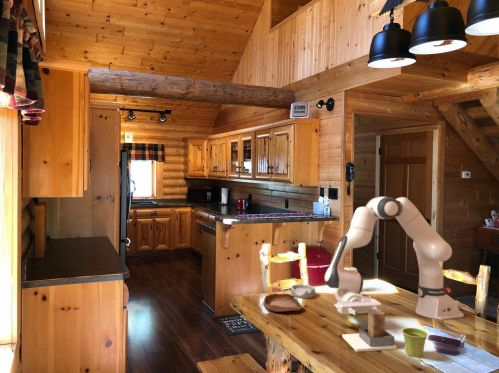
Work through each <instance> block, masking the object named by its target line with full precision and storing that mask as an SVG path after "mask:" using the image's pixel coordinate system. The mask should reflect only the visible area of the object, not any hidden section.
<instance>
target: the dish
mask: <svg viewBox="0 0 499 373" xmlns="http://www.w3.org/2000/svg"><path fill="white" fill-rule="evenodd" d="M290 293H291V294H290V295H292V296H294V297H295V298H300V299H310V298H313V297H315V294H316V288H315V287H314V286H312V285H309V284H305V285H304V284H293V285H291V287H290Z"/></svg>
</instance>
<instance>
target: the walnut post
mask: <svg viewBox="0 0 499 373" xmlns="http://www.w3.org/2000/svg"><path fill="white" fill-rule="evenodd" d="M367 314H368V315H367V328H368V334H369V335H370V336H371V337H378V336H385V330H386V313H384V311H380V310H370V311H368V313H367Z"/></svg>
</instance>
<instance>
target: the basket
mask: <svg viewBox="0 0 499 373" xmlns="http://www.w3.org/2000/svg"><path fill="white" fill-rule="evenodd" d="M263 307H265V309H266V310H269V311H270V312H277V313H278V312H291V311H295V312H298V311H301V310H302V309H303V308H304V304H303V305H302V304H301V303H300V302H299V301H298V300H297V298H296V297H294V296H293V295H292V294H290V293H272V294H268V295H266V296H265V297H264V299H263Z"/></svg>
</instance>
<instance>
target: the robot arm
mask: <svg viewBox="0 0 499 373" xmlns="http://www.w3.org/2000/svg"><path fill="white" fill-rule="evenodd" d="M394 218H395V219H396V220H397V222H398V223H399V224H400V226H401V227H402V228H403V230H404V232H405V233H406V234H407V236H408V237H409V238H410V239H412V241H413V244H412V246H413V249H414V251H415V254H416V259H417V264H418V271H419V272H418V274H419V275H418V278H419V281H418V286H417V288H418V289H417V295H418V296H417V297H418V298H417V304H416V307H415V312H414V313H416V314H418V315H419V316H422V317H426V318H430V319H436V320H440V321H444V320H451V319H457V318H464V313H463V312H462V311H460V310H459V305H458V303H457V301H456V300H455V299H453V298H452V297H451V296H449V295H448V294H447V293H451V292H452V290H451V288H449V287H445V286H444V270H443V268H442V266H441V262H446V261H448V260H449V259H450V258H451V256H452V253H453V252H452V251H453V250H452V247H451V245H450V244H449V243H448V242H447V241H445V239H444V238H443V237H442V236H441V235H440V234H439V233H438V232H437V231H436V230H435V229H434V228H433V227H432V226H431V225H430V224H429V222H428V221H427V220H426V219H425V218H424V216H423V215H422V214H421V212H420V211H419V209H418V208H417V207H416V206H415V204H413V202H412V201H411V200H410V199H408V197H406V196H405V197H404V196H401V197H397V198H396V199H395V198H393V197H391V196H376V197H373V198H372V197H371V198H370V199H369V200H368V201H367V202H366V204H365V205H364V206H358V207H357V208H356V210H355V211H354V213H353V216H352V218H351V222H350V227H349V230H348V231H347V233H346V234H345V235H342V237H341V238H340V240H339V242H338V243H337V246H336V248H335V251H334V254H333V256H332V259H331V261H330V264H329V266H328V268H327V269H326V271H325V274H324V282H325V284H326V285H327V287H329V288H330V289H335V290H334V297H335V299H336V301H337V302H336V303H334V304H333V307H335V308H336V310H337V312H338V313H340V314H342V315H347V314H351V315H354V316H358V315H359V314H366V313H367V314H368V311H370V310H380V311H381V312H383V311H382V310H383V305H382V303H381V302H380V301H378V300H377V299H375V298H372V296H371V295H367V294H361V292H362V290H363V287H364V279H363V276H362V274H361V273H360V272H359V271H357V272H356V271H351V270H345V269H344V268H341V266H342V263H343V261H344V258H345V256H346V253H347V252H348V251H350V250H352V249H358V248H362V247H364V246H367V245H368V244H369V243H370V242H371V240H372V237H373V233H374V228H375V223H376V221H378V220H379V219H380V220H390V219H394Z"/></svg>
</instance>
